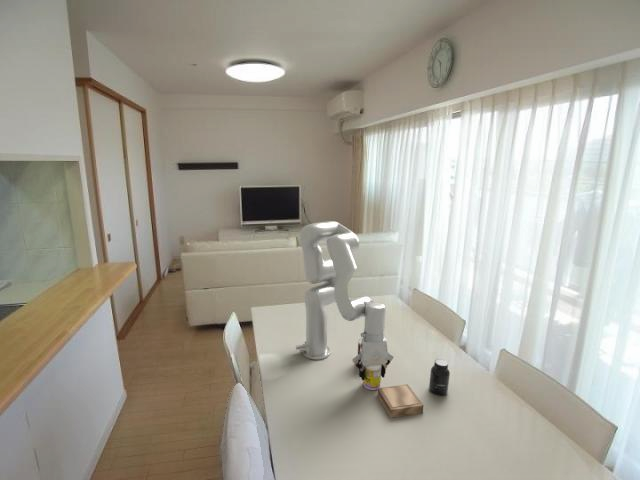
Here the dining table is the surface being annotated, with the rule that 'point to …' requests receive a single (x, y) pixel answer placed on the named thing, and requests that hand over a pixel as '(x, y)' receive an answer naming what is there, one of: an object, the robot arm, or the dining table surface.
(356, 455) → the dining table surface
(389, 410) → the bronze plinth
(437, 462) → the dining table surface
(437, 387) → the supplement bottle
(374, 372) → the supplement bottle
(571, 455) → the dining table surface
